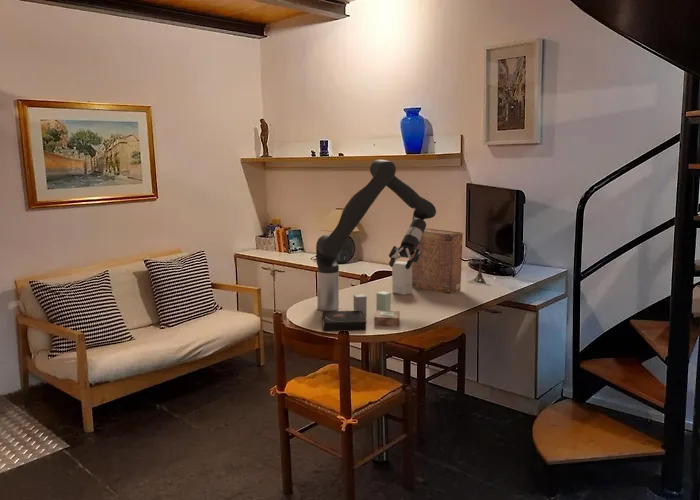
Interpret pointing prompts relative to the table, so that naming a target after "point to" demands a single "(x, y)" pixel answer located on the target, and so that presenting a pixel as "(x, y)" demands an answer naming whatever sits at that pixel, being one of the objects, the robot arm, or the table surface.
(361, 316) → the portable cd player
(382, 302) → the sage pillar
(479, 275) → the eiffel tower figurine
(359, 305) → the grey pillar
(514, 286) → the table surface
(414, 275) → the book
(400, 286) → the skincare box
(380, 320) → the walnut plinth
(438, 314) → the table surface
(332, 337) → the table surface
